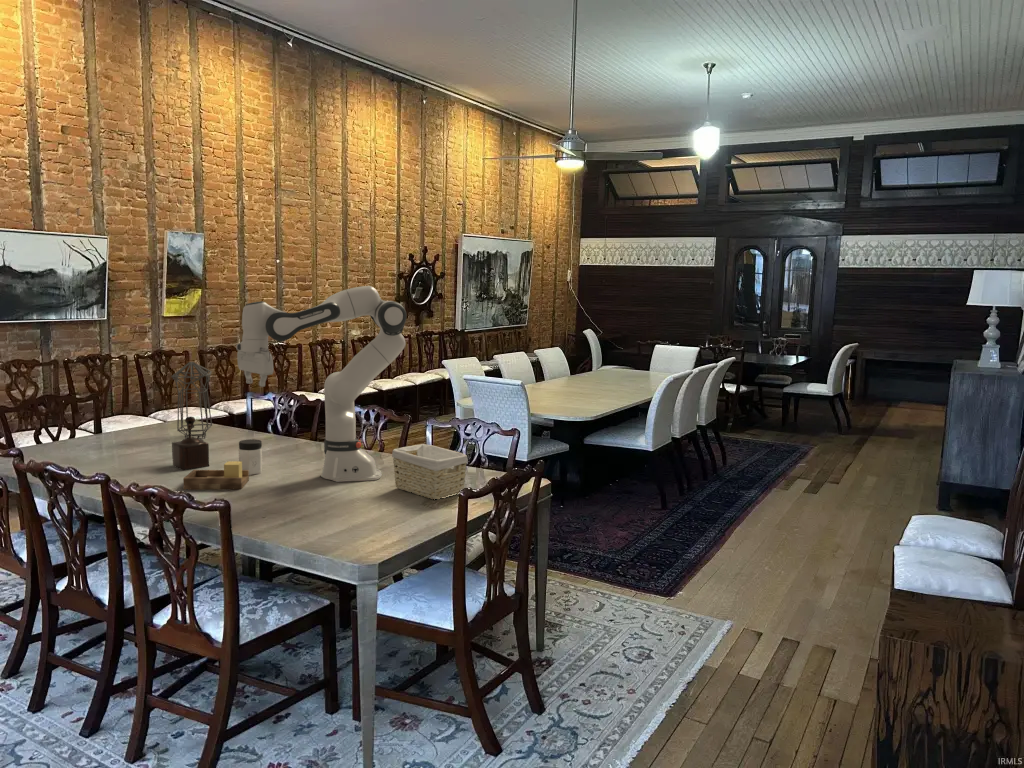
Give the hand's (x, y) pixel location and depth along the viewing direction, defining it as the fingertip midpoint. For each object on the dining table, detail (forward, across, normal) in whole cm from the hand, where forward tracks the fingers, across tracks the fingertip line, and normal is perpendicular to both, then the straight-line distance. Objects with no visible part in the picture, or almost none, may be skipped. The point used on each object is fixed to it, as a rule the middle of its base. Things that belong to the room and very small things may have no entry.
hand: (255, 384), depth 274 cm
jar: (+35, +11, -3) cm, 37 cm away
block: (+33, -2, +10) cm, 35 cm away
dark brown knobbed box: (+35, +36, +10) cm, 52 cm away
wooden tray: (+35, +1, +14) cm, 38 cm away
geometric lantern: (+35, +85, -13) cm, 93 cm away
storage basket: (+35, -52, -39) cm, 74 cm away
